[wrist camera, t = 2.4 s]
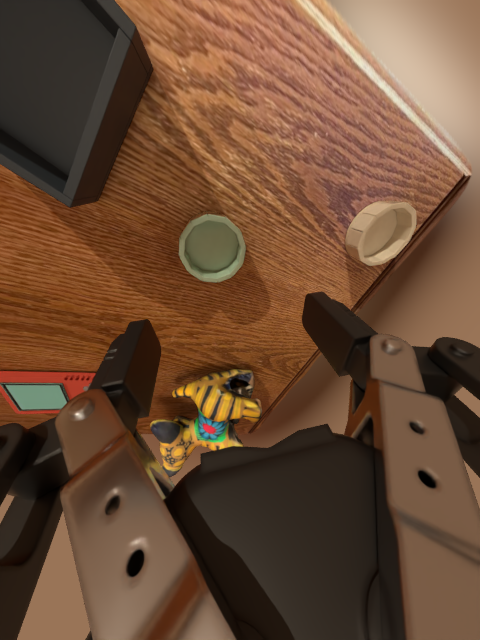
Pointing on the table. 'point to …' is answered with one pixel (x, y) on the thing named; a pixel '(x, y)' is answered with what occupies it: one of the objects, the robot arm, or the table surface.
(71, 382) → the handheld gaming console
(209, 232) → the celadon dish
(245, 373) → the dog figurine
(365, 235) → the cream dish
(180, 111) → the table surface
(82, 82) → the tub
